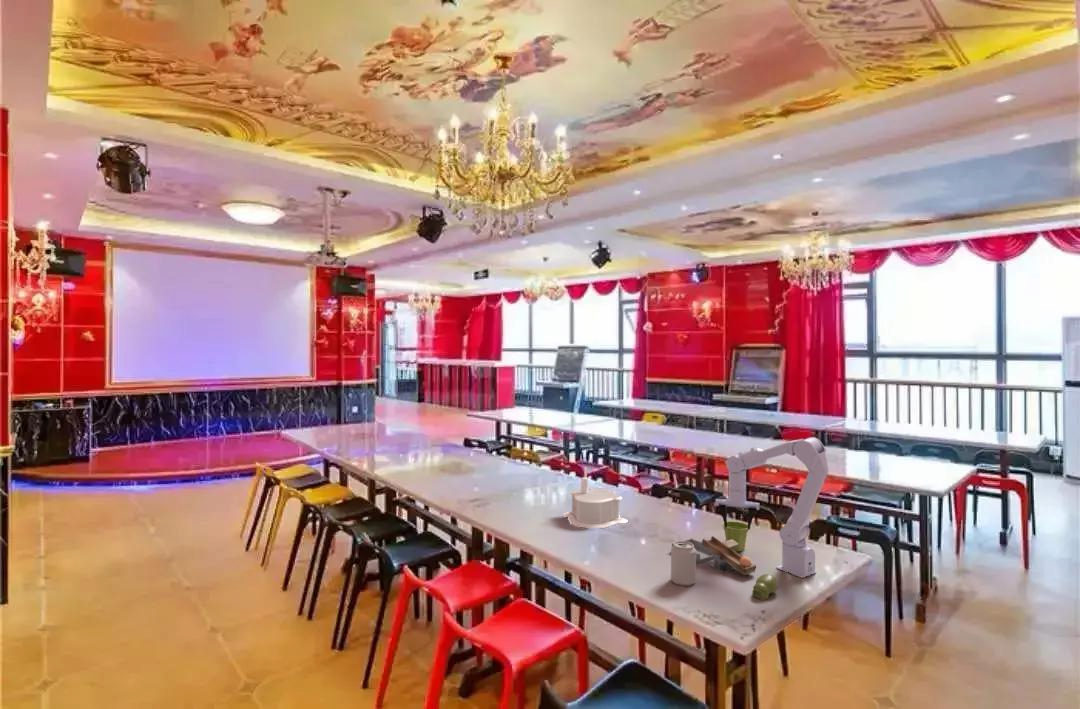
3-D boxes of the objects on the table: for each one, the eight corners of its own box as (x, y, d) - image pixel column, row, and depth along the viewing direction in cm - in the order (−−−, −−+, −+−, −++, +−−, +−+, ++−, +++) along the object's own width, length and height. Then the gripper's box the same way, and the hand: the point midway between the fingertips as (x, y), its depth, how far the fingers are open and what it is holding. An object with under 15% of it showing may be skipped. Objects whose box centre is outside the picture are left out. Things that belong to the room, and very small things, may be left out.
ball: (748, 568, 180) (755, 563, 178) (741, 571, 178) (748, 565, 176) (742, 558, 182) (748, 553, 180) (735, 561, 180) (741, 555, 178)
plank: (769, 567, 183) (771, 560, 183) (743, 575, 176) (745, 569, 175) (726, 537, 198) (727, 531, 197) (700, 544, 191) (702, 538, 190)
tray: (718, 557, 194) (718, 548, 194) (698, 563, 189) (698, 554, 189) (691, 546, 204) (691, 538, 204) (671, 551, 199) (671, 543, 199)
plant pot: (716, 545, 205) (716, 522, 205) (737, 542, 208) (737, 519, 208) (733, 554, 196) (733, 530, 196) (755, 551, 200) (755, 527, 200)
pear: (780, 574, 166) (765, 589, 159) (781, 591, 167) (766, 606, 160) (762, 568, 170) (746, 583, 163) (763, 585, 171) (747, 600, 164)
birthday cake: (638, 514, 244) (638, 465, 244) (620, 534, 218) (621, 479, 218) (573, 506, 256) (574, 459, 256) (550, 524, 230) (550, 472, 230)
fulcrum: (741, 566, 186) (741, 552, 186) (723, 572, 181) (723, 558, 181) (726, 560, 191) (726, 547, 191) (708, 566, 186) (708, 552, 186)
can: (691, 576, 177) (691, 539, 177) (698, 587, 170) (699, 548, 170) (668, 577, 177) (668, 539, 177) (674, 587, 170) (674, 548, 169)
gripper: (759, 488, 198) (759, 526, 198) (716, 484, 203) (716, 522, 203) (759, 493, 191) (759, 532, 191) (715, 489, 196) (715, 527, 196)
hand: (737, 527), depth 197 cm, fingers open, 7 cm apart
